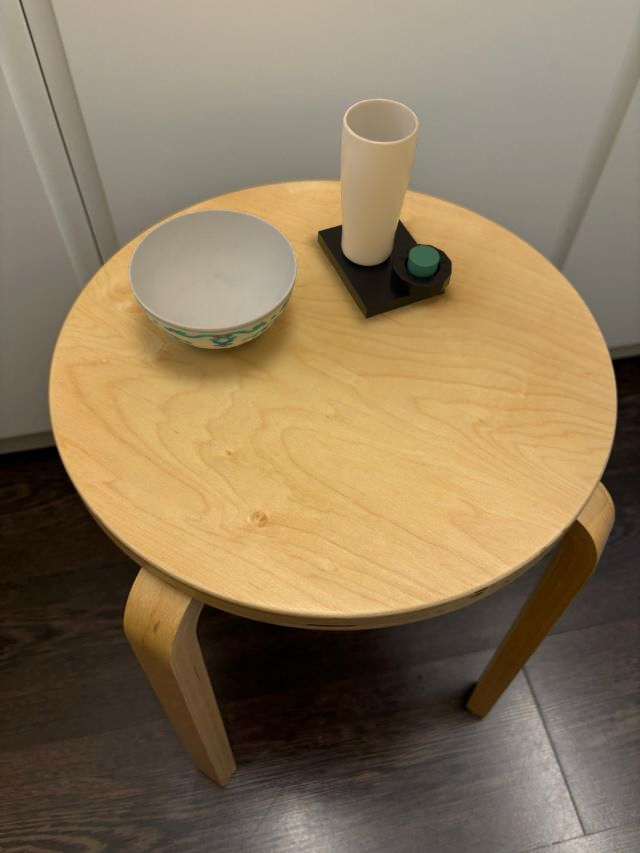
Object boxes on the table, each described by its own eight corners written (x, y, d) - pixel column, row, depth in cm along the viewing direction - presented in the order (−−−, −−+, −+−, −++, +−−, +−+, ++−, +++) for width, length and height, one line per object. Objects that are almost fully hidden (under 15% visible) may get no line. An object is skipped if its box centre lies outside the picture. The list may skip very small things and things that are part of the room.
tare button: (427, 253, 72) (430, 241, 71) (442, 272, 70) (445, 261, 69) (401, 261, 71) (403, 249, 70) (415, 281, 70) (418, 269, 68)
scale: (399, 217, 79) (402, 195, 76) (457, 297, 72) (462, 275, 70) (317, 241, 76) (318, 219, 74) (370, 325, 70) (372, 304, 67)
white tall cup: (327, 266, 72) (334, 136, 59) (341, 223, 76) (351, 91, 63) (392, 279, 71) (413, 150, 59) (403, 234, 75) (426, 104, 62)
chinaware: (122, 297, 71) (105, 238, 64) (257, 250, 75) (253, 191, 68) (178, 406, 64) (165, 353, 57) (323, 348, 68) (326, 292, 61)
